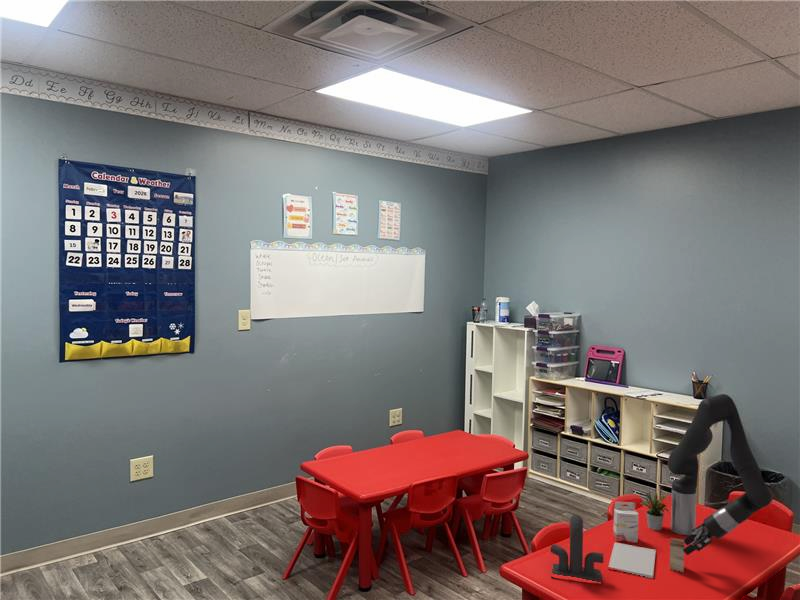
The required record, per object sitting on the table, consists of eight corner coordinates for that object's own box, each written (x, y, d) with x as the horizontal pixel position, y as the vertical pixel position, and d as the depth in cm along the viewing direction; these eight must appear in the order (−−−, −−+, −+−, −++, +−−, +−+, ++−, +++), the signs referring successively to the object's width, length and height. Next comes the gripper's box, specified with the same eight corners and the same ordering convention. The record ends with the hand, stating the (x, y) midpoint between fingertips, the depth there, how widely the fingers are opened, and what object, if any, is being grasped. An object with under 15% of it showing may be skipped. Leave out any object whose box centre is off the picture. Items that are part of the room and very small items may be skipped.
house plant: (633, 531, 251) (633, 492, 250) (634, 518, 263) (634, 482, 263) (670, 537, 245) (671, 497, 244) (669, 524, 258) (670, 486, 257)
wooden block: (670, 564, 222) (670, 537, 222) (683, 566, 220) (684, 540, 220) (669, 569, 218) (670, 542, 218) (683, 572, 216) (684, 545, 216)
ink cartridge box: (616, 541, 241) (616, 505, 240) (613, 536, 246) (613, 501, 245) (638, 542, 240) (639, 506, 239) (634, 537, 245) (635, 501, 244)
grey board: (614, 544, 238) (614, 542, 238) (655, 552, 231) (655, 549, 231) (608, 569, 218) (608, 566, 218) (652, 578, 212) (653, 575, 212)
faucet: (601, 564, 222) (602, 511, 221) (603, 585, 207) (604, 528, 206) (550, 557, 227) (551, 505, 226) (549, 578, 212) (550, 522, 211)
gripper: (712, 506, 220) (677, 531, 225) (714, 521, 207) (677, 547, 212) (728, 523, 218) (692, 548, 223) (731, 539, 205) (693, 564, 210)
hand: (685, 547), depth 218 cm, fingers open, 8 cm apart
